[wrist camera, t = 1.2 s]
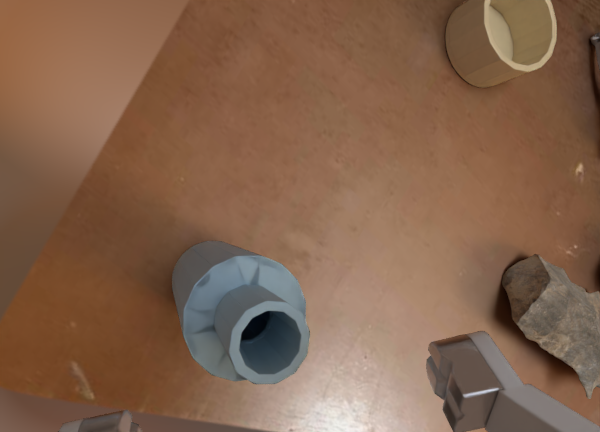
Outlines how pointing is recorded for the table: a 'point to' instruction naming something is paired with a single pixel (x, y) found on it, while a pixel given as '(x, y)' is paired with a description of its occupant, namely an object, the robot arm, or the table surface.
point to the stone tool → (557, 315)
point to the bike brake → (597, 46)
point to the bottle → (240, 313)
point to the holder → (500, 39)
